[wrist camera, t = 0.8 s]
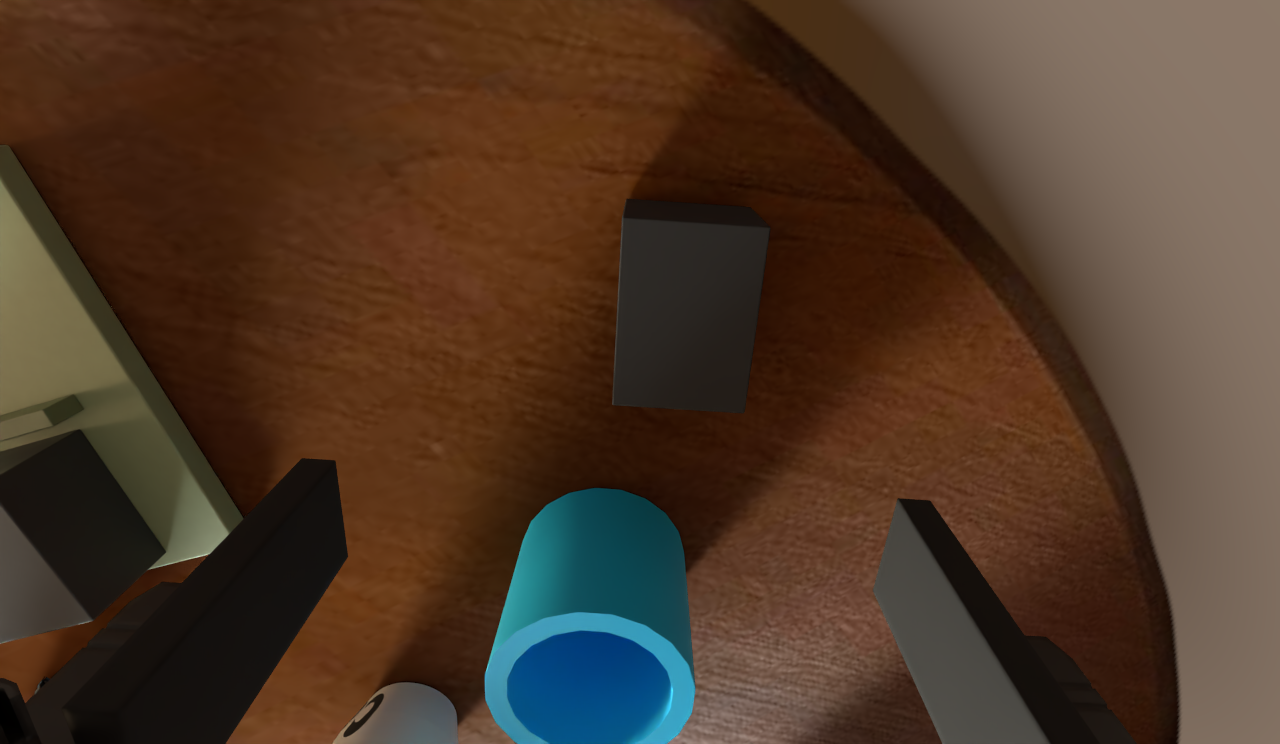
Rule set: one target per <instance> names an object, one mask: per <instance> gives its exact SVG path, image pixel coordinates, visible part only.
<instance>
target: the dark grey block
mask: <svg viewBox="0 0 1280 744" xmlns="http://www.w3.org/2000/svg"><path fill="white" fill-rule="evenodd" d="M769 235H770V226H769V225H768V224H767V223H766V222H765V221H764V220H763V219H762V218H761V217H760V216H759V215H758V214H757V213H756V212H755V211H754V210H753V209H752V208H751V207H742V206H727V205H712V204H697V203H682V202H668V201H653V200H638V199H626V203H625V207H624V212H623V216H622V229H621V248H620V267H619V285H618V304H617V323H616V342H615V361H614V380H613V398H612V404H613V405H619V406H635V407H650V408H666V409H682V410H698V411H714V412H730V413H744V412H745V405H746V398H747V391H748V384H749V377H750V370H751V363H752V356H753V349H754V342H755V334H756V327H757V320H758V313H759V306H760V299H761V292H762V285H763V278H764V271H765V264H766V257H767V250H768V243H769Z"/></svg>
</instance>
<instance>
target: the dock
mask: <svg viewBox="0 0 1280 744" xmlns="http://www.w3.org/2000/svg"><path fill="white" fill-rule="evenodd" d="M243 519H244V518H243V517H242V515H241V514H240V512H239V510H238V509H237V507H236V506H235V504H234V503H233V501H232V499H231V498H230V496H229V495H228V493H227V491H226V490H225V488H224V487H223V485H222V483H221V482H220V480H219V479H218V477H217V476H216V474H215V472H214V471H213V469H212V468H211V466H210V464H209V463H208V461H207V460H206V458H205V456H204V455H203V453H202V452H201V450H200V449H199V447H198V445H197V444H196V442H195V441H194V439H193V437H192V436H191V434H190V433H189V431H188V429H187V428H186V426H185V425H184V423H183V422H182V420H181V418H180V417H179V415H178V414H177V412H176V410H175V409H174V407H173V406H172V404H171V402H170V401H169V399H168V398H167V396H166V395H165V393H164V391H163V390H162V388H161V387H160V385H159V383H158V382H157V380H156V379H155V377H154V375H153V374H152V372H151V371H150V369H149V367H148V366H147V364H146V363H145V361H144V360H143V358H142V356H141V355H140V353H139V352H138V350H137V348H136V347H135V345H134V344H133V342H132V340H131V339H130V337H129V336H128V334H127V333H126V331H125V329H124V328H123V326H122V325H121V323H120V321H119V320H118V318H117V317H116V315H115V313H114V312H113V310H112V309H111V307H110V306H109V304H108V302H107V301H106V299H105V298H104V296H103V294H102V293H101V291H100V290H99V288H98V286H97V285H96V283H95V282H94V280H93V279H92V277H91V275H90V274H89V272H88V271H87V269H86V267H85V266H84V264H83V263H82V261H81V259H80V258H79V256H78V255H77V253H76V252H75V250H74V248H73V247H72V245H71V244H70V242H69V240H68V239H67V237H66V236H65V234H64V232H63V231H62V229H61V228H60V226H59V225H58V223H57V221H56V220H55V218H54V217H53V215H52V213H51V212H50V210H49V209H48V207H47V205H46V204H45V202H44V201H43V199H42V198H41V196H40V194H39V193H38V191H37V190H36V188H35V186H34V185H33V183H32V182H31V180H30V178H29V177H28V175H27V174H26V172H25V171H24V169H23V167H22V166H21V164H20V163H19V161H18V159H17V158H16V156H15V155H14V153H13V151H12V150H11V148H10V147H9V146H8V145H0V643H4V642H8V641H13V640H17V639H21V638H25V637H29V636H33V635H37V634H41V633H45V632H49V631H54V630H58V629H62V628H66V627H70V626H74V625H78V624H82V623H86V622H90V621H94V620H95V619H96V618H97V617H98V616H99V615H100V614H101V613H102V612H103V611H104V610H105V609H106V608H108V607H109V606H110V605H111V604H112V603H113V602H114V601H115V600H116V599H117V598H118V597H119V596H120V595H121V594H123V593H124V592H125V591H126V590H127V589H128V588H129V587H130V586H131V585H132V584H133V583H134V582H135V581H136V580H138V579H139V578H140V577H141V576H142V575H143V574H144V573H145V572H146V571H147V570H149V569H153V568H157V567H161V566H165V565H169V564H173V563H177V562H181V561H185V560H188V559H192V558H196V557H200V556H204V555H208V554H210V553H211V552H212V551H213V550H214V549H215V548H216V547H217V546H218V545H219V544H220V543H221V542H222V541H223V540H224V539H225V538H226V537H227V536H228V535H229V534H230V533H231V532H232V531H233V529H234V528H235V527H236V526H237V525H238V524H239V523H240V522H241V521H242V520H243Z"/></svg>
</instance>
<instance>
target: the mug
mask: <svg viewBox="0 0 1280 744" xmlns="http://www.w3.org/2000/svg"><path fill="white" fill-rule="evenodd" d="M694 695H695V678H694V666H693V654H692V642H691V629H690V617H689V605H688V593H687V581H686V568H685V556H684V550H683V546H682V542H681V538H680V534H679V531H678V530H677V528H676V527H675V526H674V524H673V523H672V521H671V520H670V519H669V517H668V516H667V514H666V513H665V512H663V511H662V510H661V509H659V508H658V507H657V506H655V505H654V504H652V503H651V502H650V501H648V500H647V499H646V498H643V497H640V496H637V495H634V494H632V493H629V492H626V491H623V490H617V489H604V488H591V489H586V490H581V491H576V492H571V493H568V494H566V495H564V496H562V497H560V498H558V499H556V500H555V501H553V502H551V503H549V504H547V505H546V506H545V507H544V508H543V509H542V510H541V511H540V512H539V513H538V514H537V516H536V517H535V518H534V519H533V520H532V521H531V523H530V525H529V528H528V530H527V532H526V535H525V537H524V539H523V542H522V546H521V549H520V553H519V556H518V560H517V563H516V567H515V570H514V574H513V578H512V581H511V585H510V588H509V592H508V595H507V599H506V602H505V606H504V609H503V613H502V616H501V620H500V623H499V627H498V630H497V634H496V637H495V641H494V644H493V648H492V652H491V655H490V659H489V662H488V666H487V669H486V673H485V700H486V702H487V704H488V707H489V709H490V711H491V713H492V715H493V718H494V720H495V722H496V723H497V724H498V725H499V726H500V727H501V728H502V729H503V730H504V731H505V732H506V734H507V735H508V736H509V737H510V738H511V739H512V740H513V741H514V742H516V743H518V744H667V743H668V742H669V741H671V740H672V739H673V738H674V737H676V736H677V735H678V734H679V733H680V731H681V730H682V728H683V726H684V725H685V723H686V722H687V720H688V718H689V717H690V715H691V714H692V708H693V702H694Z"/></svg>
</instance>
